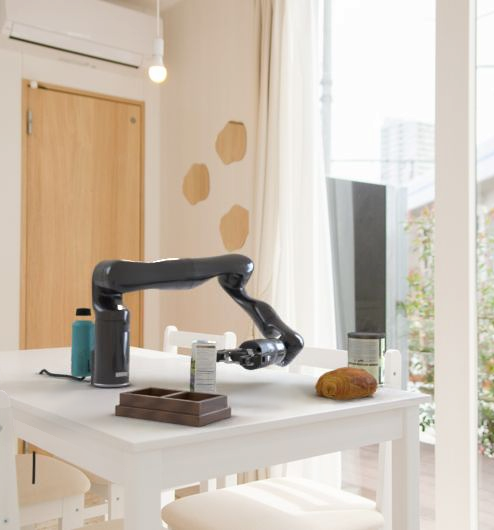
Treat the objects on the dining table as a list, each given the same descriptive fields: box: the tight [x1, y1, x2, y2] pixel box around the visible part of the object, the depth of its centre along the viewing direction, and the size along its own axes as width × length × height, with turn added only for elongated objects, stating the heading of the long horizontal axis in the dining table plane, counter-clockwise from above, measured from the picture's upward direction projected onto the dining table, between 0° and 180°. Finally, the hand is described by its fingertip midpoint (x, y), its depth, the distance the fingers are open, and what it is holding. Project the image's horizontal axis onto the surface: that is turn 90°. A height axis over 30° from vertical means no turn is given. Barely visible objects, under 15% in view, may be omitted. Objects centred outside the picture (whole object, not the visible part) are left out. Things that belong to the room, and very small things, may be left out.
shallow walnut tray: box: [114, 386, 232, 428], centre depth 145 cm, size 21×12×4 cm, turn 61°
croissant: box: [315, 366, 378, 401], centre depth 173 cm, size 14×16×8 cm
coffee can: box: [346, 331, 386, 388], centre depth 192 cm, size 10×10×14 cm
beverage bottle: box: [70, 307, 95, 378], centre depth 192 cm, size 6×7×20 cm
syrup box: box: [189, 339, 218, 394], centre depth 157 cm, size 6×6×14 cm
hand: (225, 359), depth 165 cm, fingers open, 8 cm apart
